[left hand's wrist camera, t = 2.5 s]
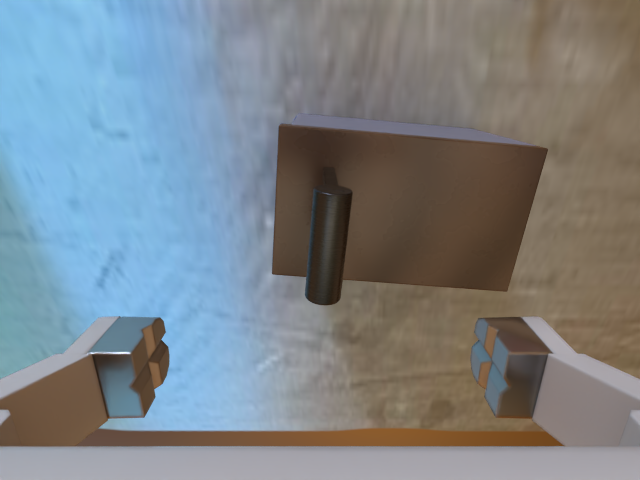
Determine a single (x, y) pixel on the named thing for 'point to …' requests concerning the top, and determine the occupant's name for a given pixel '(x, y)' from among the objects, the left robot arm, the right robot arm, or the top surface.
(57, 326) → the top surface
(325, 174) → the block with bar handle
